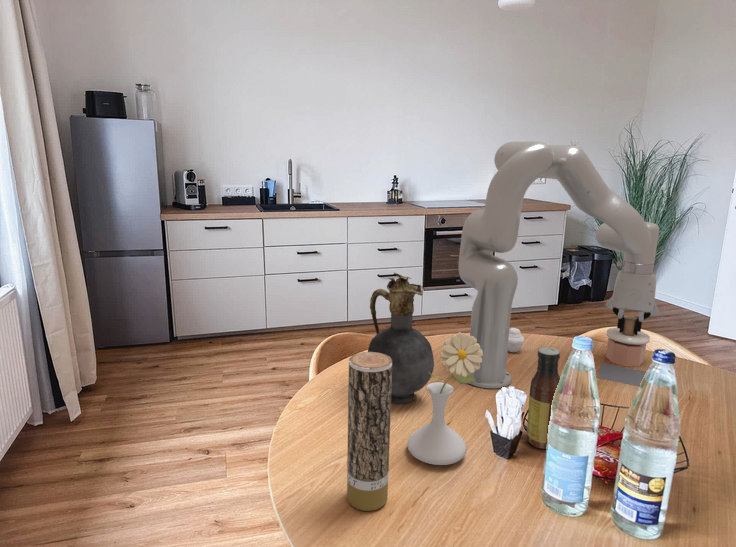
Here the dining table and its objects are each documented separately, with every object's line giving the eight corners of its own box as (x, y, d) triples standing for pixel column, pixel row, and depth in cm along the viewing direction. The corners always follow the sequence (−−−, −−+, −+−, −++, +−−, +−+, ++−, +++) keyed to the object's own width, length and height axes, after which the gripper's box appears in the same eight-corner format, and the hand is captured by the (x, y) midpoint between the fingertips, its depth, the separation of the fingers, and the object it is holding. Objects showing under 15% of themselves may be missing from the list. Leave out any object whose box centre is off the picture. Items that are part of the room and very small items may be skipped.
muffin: (508, 355, 151) (510, 332, 150) (497, 347, 157) (499, 325, 156) (527, 353, 153) (529, 330, 151) (516, 345, 159) (518, 323, 157)
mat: (645, 389, 132) (645, 387, 132) (597, 379, 137) (597, 377, 136) (645, 373, 141) (645, 371, 141) (601, 364, 146) (601, 363, 146)
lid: (616, 344, 142) (619, 324, 141) (600, 330, 152) (602, 312, 151) (657, 345, 142) (660, 325, 141) (637, 331, 152) (640, 313, 151)
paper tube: (386, 486, 92) (390, 352, 86) (388, 513, 85) (394, 369, 79) (346, 486, 91) (348, 351, 86) (346, 513, 85) (348, 368, 79)
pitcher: (402, 416, 116) (408, 284, 109) (352, 385, 130) (354, 266, 123) (438, 403, 122) (445, 277, 115) (386, 374, 137) (390, 261, 130)
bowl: (615, 367, 145) (618, 346, 143) (601, 354, 153) (604, 335, 152) (647, 368, 145) (651, 347, 143) (632, 355, 153) (635, 336, 152)
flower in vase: (403, 467, 97) (409, 339, 92) (409, 435, 108) (414, 319, 102) (475, 476, 95) (486, 345, 89) (474, 442, 106) (483, 324, 100)
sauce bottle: (554, 435, 109) (564, 345, 105) (562, 452, 103) (573, 357, 99) (522, 433, 110) (531, 343, 105) (527, 450, 104) (537, 355, 99)
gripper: (603, 267, 143) (595, 331, 147) (672, 274, 136) (662, 342, 140) (605, 262, 149) (597, 323, 154) (671, 269, 142) (661, 333, 146)
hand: (628, 331), depth 147 cm, fingers closed on lid, 3 cm apart
